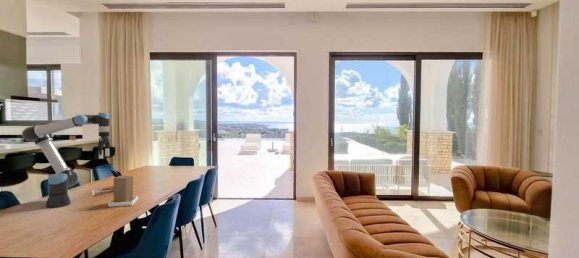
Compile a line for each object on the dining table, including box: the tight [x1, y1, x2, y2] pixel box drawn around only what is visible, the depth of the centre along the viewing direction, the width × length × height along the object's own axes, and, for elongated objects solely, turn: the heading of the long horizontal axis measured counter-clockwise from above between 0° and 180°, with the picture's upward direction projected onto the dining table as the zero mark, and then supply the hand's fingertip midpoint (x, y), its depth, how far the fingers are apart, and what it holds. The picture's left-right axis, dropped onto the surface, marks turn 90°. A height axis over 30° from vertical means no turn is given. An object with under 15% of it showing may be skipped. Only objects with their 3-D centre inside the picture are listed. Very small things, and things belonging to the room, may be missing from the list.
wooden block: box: [113, 175, 134, 202], centre depth 242 cm, size 10×10×20 cm
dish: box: [107, 195, 139, 208], centre depth 242 cm, size 17×17×3 cm
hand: (104, 157), depth 250 cm, fingers open, 13 cm apart
